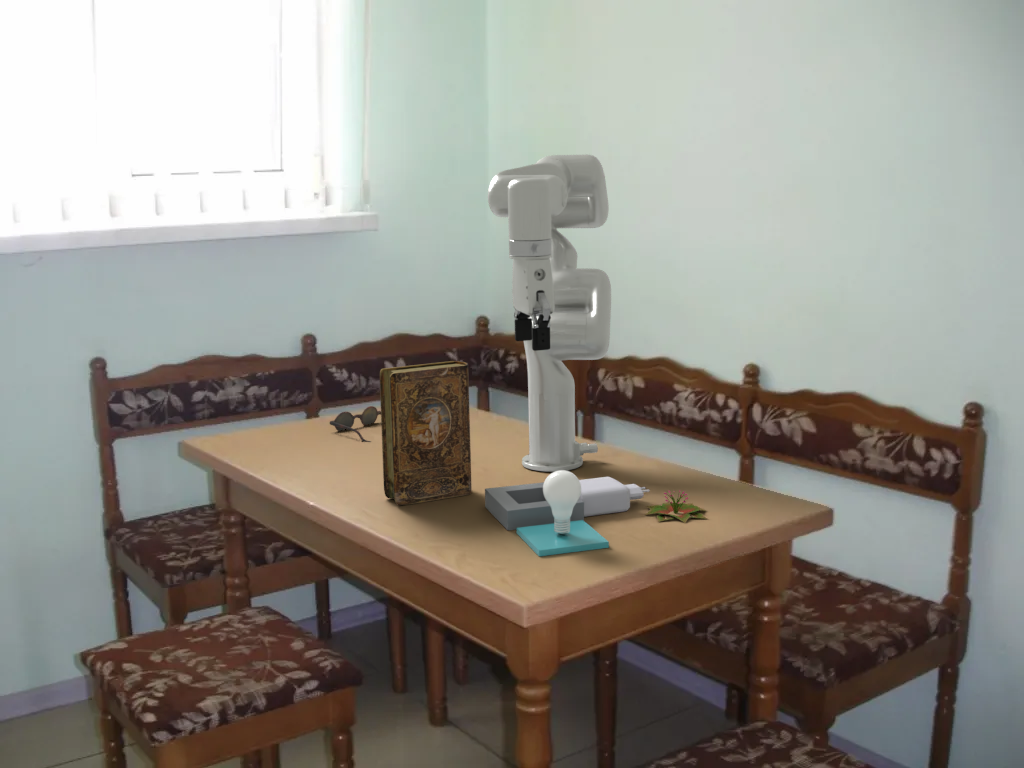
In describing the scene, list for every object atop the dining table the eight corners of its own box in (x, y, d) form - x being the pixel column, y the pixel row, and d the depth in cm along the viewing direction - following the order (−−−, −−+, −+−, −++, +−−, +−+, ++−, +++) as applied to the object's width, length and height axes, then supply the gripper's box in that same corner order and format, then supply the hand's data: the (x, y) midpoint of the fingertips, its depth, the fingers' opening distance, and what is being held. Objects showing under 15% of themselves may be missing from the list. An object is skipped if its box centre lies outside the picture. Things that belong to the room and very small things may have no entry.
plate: (582, 525, 196) (582, 519, 196) (608, 547, 185) (608, 541, 185) (516, 533, 193) (516, 527, 193) (539, 556, 182) (538, 550, 181)
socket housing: (557, 498, 212) (557, 480, 211) (584, 521, 198) (583, 502, 198) (485, 507, 208) (484, 488, 207) (507, 530, 194) (507, 510, 194)
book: (463, 486, 221) (459, 360, 216) (475, 493, 216) (472, 364, 211) (384, 499, 213) (378, 368, 209) (394, 507, 209) (389, 373, 204)
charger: (658, 509, 205) (582, 519, 200) (636, 495, 214) (562, 504, 209) (658, 483, 204) (582, 493, 199) (636, 471, 213) (562, 480, 208)
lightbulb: (558, 525, 193) (558, 463, 191) (588, 533, 189) (589, 469, 187) (535, 535, 188) (534, 471, 186) (566, 543, 184) (566, 478, 182)
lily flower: (698, 503, 209) (698, 479, 208) (718, 524, 197) (719, 498, 196) (635, 507, 207) (634, 483, 206) (651, 528, 196) (651, 503, 195)
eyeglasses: (380, 423, 276) (379, 403, 275) (418, 433, 266) (417, 412, 264) (330, 434, 266) (328, 413, 265) (367, 445, 256) (366, 423, 255)
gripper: (567, 253, 192) (568, 352, 196) (534, 243, 208) (536, 335, 212) (525, 255, 190) (527, 355, 194) (495, 246, 206) (498, 338, 210)
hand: (532, 345), depth 203 cm, fingers open, 9 cm apart
